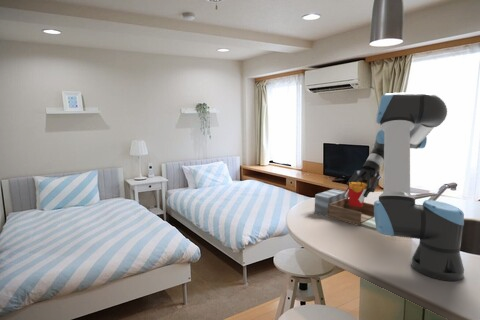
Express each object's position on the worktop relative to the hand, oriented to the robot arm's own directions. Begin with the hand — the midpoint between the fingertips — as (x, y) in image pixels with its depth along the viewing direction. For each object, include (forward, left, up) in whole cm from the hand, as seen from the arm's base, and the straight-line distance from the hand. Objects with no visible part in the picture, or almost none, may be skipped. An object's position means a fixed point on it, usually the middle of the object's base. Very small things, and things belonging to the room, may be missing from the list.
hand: (352, 199), depth 152 cm
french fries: (+4, 0, -4) cm, 5 cm away
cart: (+3, +1, -10) cm, 11 cm away
